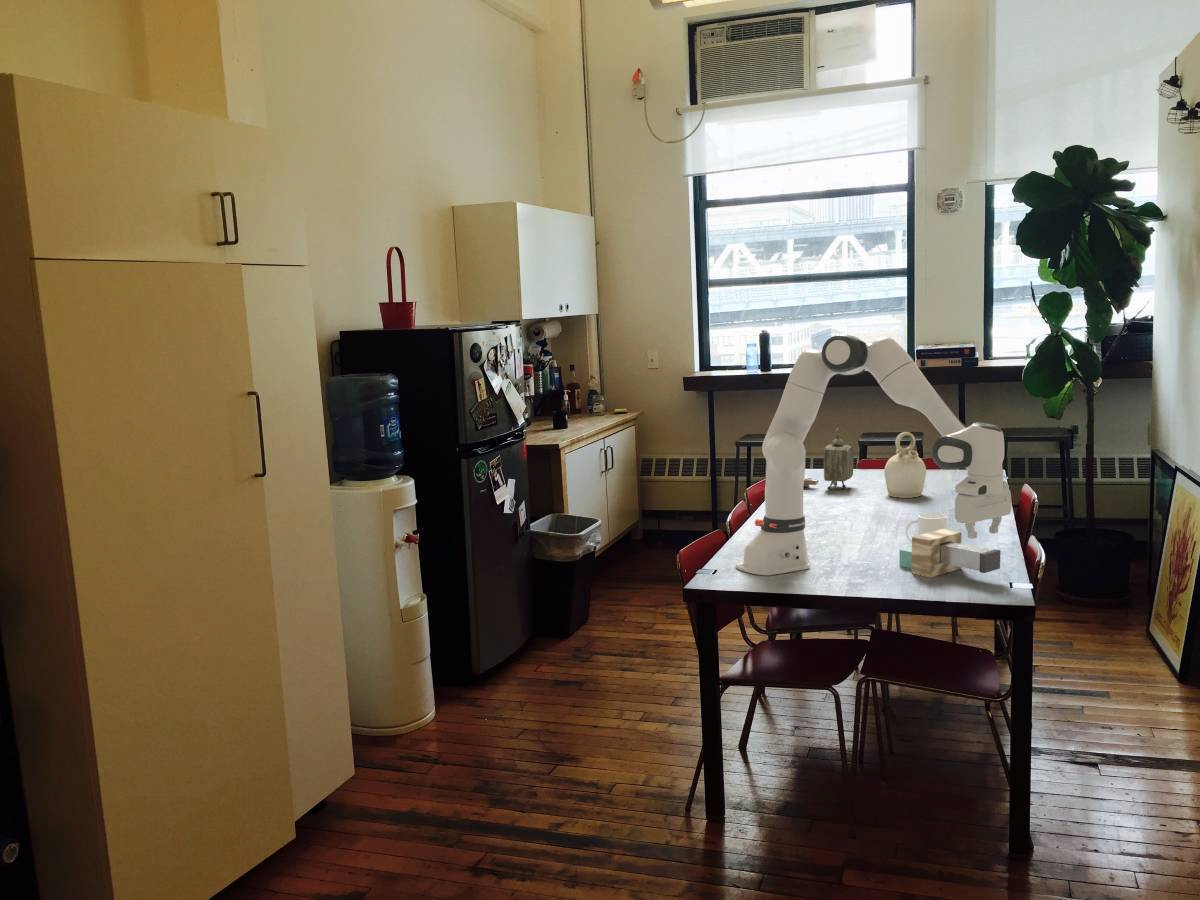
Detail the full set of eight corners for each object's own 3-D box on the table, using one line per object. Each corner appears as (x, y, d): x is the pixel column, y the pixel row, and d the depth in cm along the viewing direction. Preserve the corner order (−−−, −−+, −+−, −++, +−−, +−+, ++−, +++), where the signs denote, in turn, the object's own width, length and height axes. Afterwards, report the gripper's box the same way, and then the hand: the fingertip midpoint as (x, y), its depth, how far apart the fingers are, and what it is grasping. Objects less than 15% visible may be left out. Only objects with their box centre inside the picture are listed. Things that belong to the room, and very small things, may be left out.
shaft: (984, 573, 261) (984, 554, 261) (919, 559, 278) (919, 541, 277) (1000, 568, 265) (1000, 550, 265) (934, 554, 282) (935, 537, 281)
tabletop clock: (832, 485, 414) (831, 425, 410) (854, 485, 410) (853, 425, 406) (823, 491, 401) (823, 429, 397) (846, 492, 397) (846, 430, 393)
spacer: (917, 553, 279) (899, 549, 284) (917, 570, 280) (899, 566, 285) (930, 549, 283) (912, 546, 288) (930, 566, 284) (912, 562, 288)
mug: (903, 557, 295) (904, 517, 293) (908, 550, 302) (908, 511, 301) (945, 559, 290) (946, 519, 288) (948, 552, 297) (949, 513, 296)
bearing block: (929, 577, 272) (930, 540, 270) (911, 573, 277) (911, 536, 275) (961, 568, 280) (961, 532, 278) (942, 564, 284) (943, 528, 283)
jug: (929, 499, 377) (929, 433, 374) (887, 499, 380) (887, 434, 376) (922, 491, 392) (922, 428, 389) (882, 492, 395) (882, 429, 391)
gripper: (997, 478, 270) (995, 528, 272) (951, 487, 259) (949, 538, 261) (1018, 481, 265) (1016, 532, 267) (972, 490, 254) (970, 543, 256)
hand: (982, 535), depth 264 cm, fingers open, 8 cm apart
